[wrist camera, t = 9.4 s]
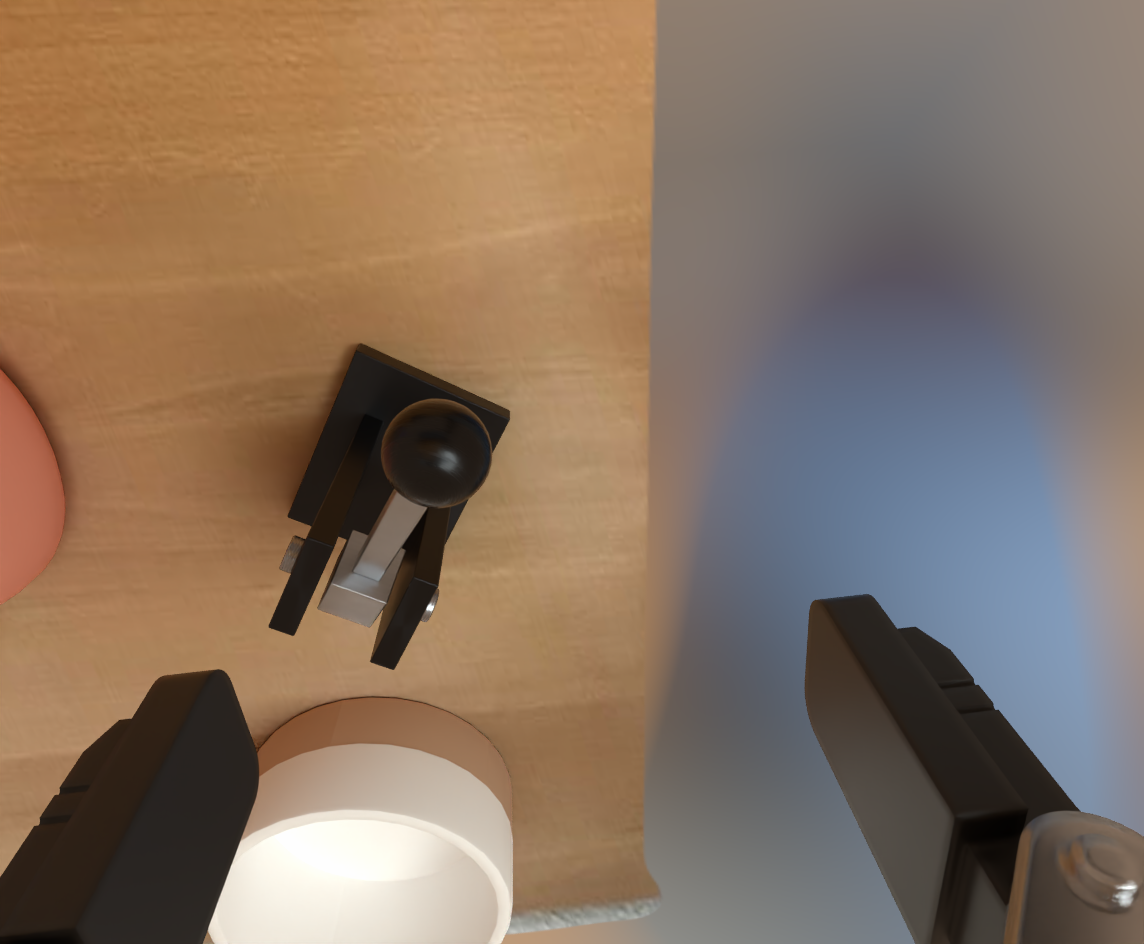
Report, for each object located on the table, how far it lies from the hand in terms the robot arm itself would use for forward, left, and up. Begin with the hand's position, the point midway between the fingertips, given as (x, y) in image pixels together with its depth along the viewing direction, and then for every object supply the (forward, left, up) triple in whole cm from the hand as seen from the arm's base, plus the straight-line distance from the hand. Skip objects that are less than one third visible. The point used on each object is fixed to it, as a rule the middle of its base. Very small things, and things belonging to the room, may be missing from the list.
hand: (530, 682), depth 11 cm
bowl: (+13, +33, -28) cm, 46 cm away
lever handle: (+5, +5, -16) cm, 17 cm away
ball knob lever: (+7, +9, -28) cm, 31 cm away
